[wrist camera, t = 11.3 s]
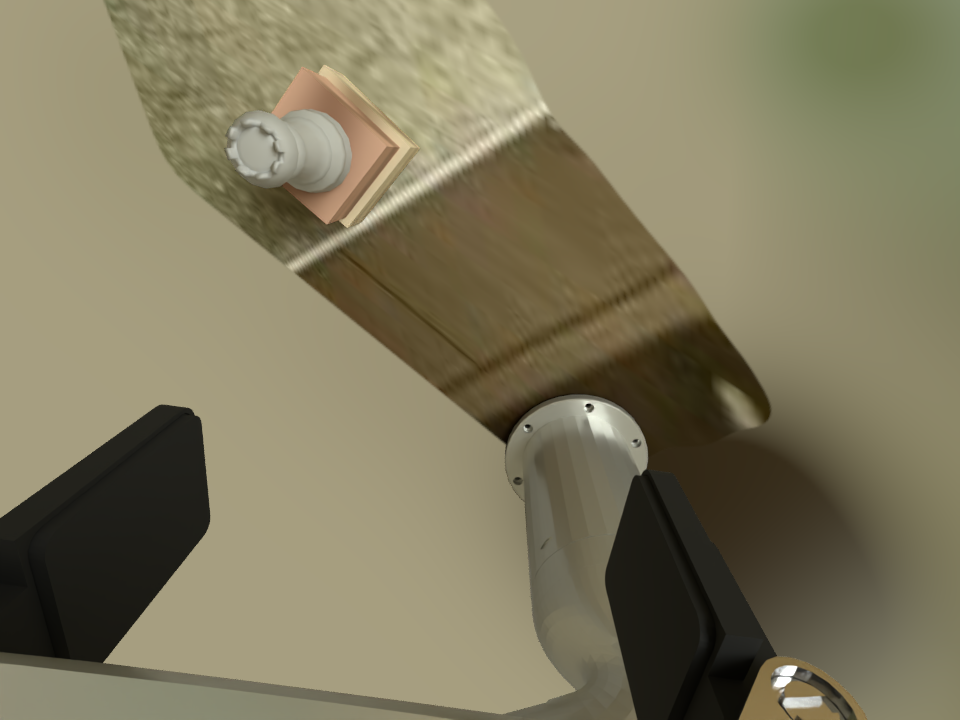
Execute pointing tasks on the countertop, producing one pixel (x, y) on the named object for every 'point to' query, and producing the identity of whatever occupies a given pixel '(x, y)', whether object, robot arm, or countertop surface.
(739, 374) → the countertop surface
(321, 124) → the rook chess piece
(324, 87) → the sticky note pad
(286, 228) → the countertop surface
